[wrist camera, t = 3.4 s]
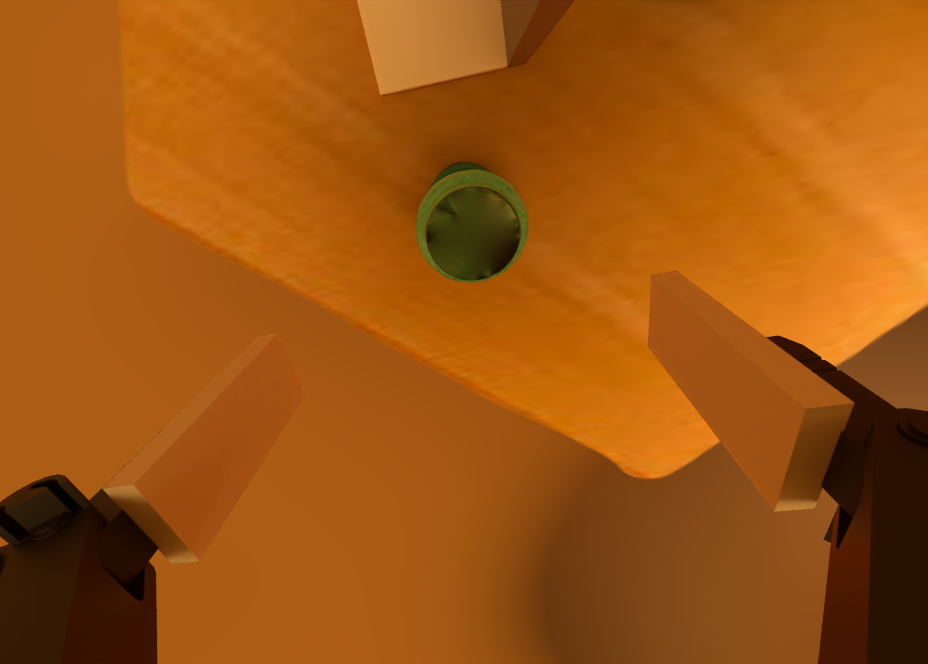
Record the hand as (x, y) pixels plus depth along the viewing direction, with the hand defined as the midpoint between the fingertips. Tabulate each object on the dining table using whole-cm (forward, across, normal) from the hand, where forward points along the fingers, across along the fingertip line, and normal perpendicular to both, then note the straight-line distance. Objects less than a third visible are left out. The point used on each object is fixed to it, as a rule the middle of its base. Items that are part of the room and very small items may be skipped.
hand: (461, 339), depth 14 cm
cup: (+26, 0, 0) cm, 26 cm away
